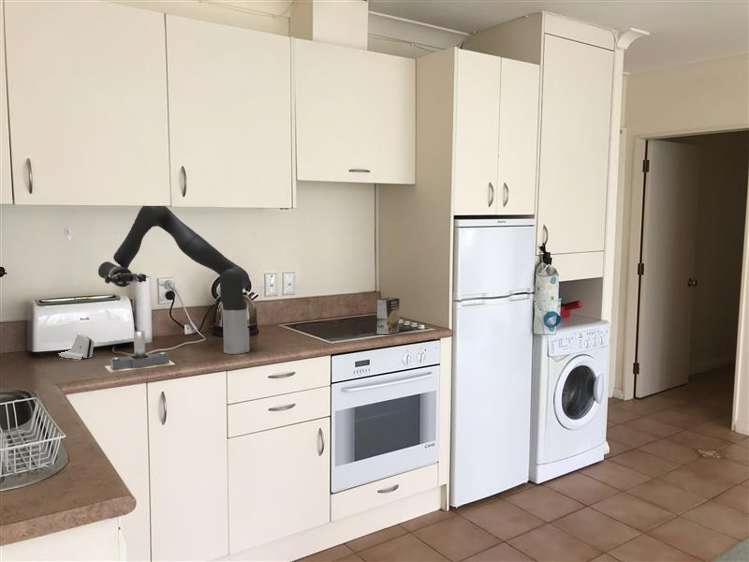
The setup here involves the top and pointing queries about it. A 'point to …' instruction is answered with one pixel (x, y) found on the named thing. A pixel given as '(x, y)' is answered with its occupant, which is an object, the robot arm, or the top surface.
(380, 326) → the coffee box
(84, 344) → the hinge
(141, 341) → the link pin
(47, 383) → the top surface
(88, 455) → the top surface
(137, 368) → the board
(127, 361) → the grey notched block
